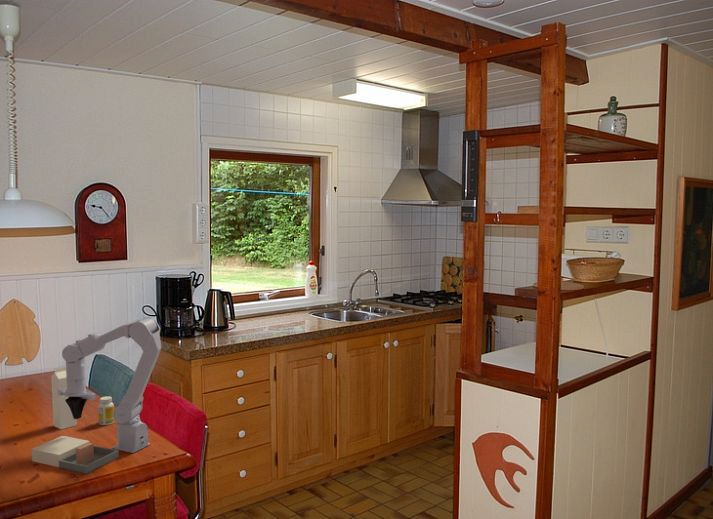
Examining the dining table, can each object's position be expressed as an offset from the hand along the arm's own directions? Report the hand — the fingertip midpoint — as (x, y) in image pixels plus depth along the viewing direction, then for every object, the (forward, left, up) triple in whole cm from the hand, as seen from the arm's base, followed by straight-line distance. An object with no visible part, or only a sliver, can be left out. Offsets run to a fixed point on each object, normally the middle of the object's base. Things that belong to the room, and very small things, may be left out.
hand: (77, 418), depth 204 cm
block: (-12, +9, -7) cm, 17 cm away
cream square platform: (-3, +9, -10) cm, 13 cm away
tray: (-15, +9, -10) cm, 20 cm away
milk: (+19, -12, -10) cm, 25 cm away
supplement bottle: (+7, -20, -10) cm, 23 cm away
